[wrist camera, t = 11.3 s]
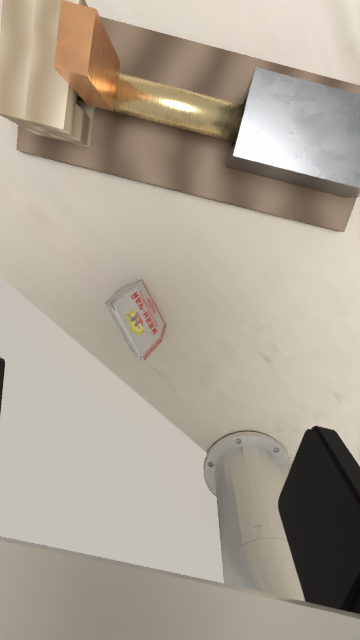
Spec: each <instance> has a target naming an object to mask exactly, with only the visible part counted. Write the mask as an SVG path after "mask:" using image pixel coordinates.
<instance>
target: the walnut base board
mask: <svg viewBox="0 0 360 640" xmlns="http://www.w3.org/2000/svg"><path fill="white" fill-rule="evenodd" d="M100 19H101V21H102V23H103V25H104V27H105V30H106V32H107V34H108V36H109V38H110V41H111V43H112V45H113V47H114V49H115V52H116V54H117V56H118V58H119V60H120V67H119V72H120V73H124V74H128V75H132V76H136V77H140V78H143V79H147V80H151V81H155V82H159V83H163V84H166V85H170V86H174V87H178V88H182V89H186V90H189V91H193V92H197V93H201V94H205V95H209V96H212V97H216V98H220V99H224V100H228V101H232V102H235V103H239V104H242V101H243V97H244V94H245V92H246V89H247V87H248V85H249V82H250V80H251V77H252V75H253V72H254V70H255V68H256V67H258V68H262V69H265V70H269V71H273V72H277V73H280V74H284V75H288V76H292V77H296V78H299V79H303V80H307V81H311V82H314V83H318V84H322V85H326V86H330V87H333V88H337V89H341V90H345V91H348V92H352V93H356V94H360V86H359V85H355V84H351V83H348V82H344V81H340V80H336V79H333V78H329V77H325V76H321V75H318V74H314V73H310V72H306V71H303V70H299V69H295V68H291V67H288V66H284V65H280V64H276V63H272V62H269V61H265V60H261V59H257V58H254V57H250V56H246V55H242V54H239V53H235V52H231V51H227V50H224V49H220V48H216V47H212V46H208V45H205V44H201V43H197V42H193V41H190V40H186V39H182V38H178V37H175V36H171V35H167V34H163V33H160V32H156V31H152V30H148V29H144V28H141V27H137V26H133V25H129V24H126V23H122V22H118V21H114V20H111V19H107V18H103V17H100ZM231 144H232V141H229V140H225V139H221V138H217V137H213V136H209V135H205V134H201V133H197V132H194V131H190V130H186V129H182V128H178V127H174V126H170V125H166V124H162V123H158V122H155V121H151V120H147V119H143V118H139V117H135V116H131V115H127V114H123V113H120V112H116V111H110V110H106V109H102V108H98V107H96V110H95V117H94V124H93V131H92V138H91V145H90V148H87V147H83V146H80V145H76V144H72V143H68V142H64V141H60V140H56V139H52V138H48V137H44V136H40V135H36V134H34V133H32V132H31V131H29V130H27V129H25V128H23V127H21V126H20V125H19V126H18V138H17V150H19V151H21V152H24V153H28V154H32V155H36V156H40V157H44V158H48V159H52V160H56V161H60V162H64V163H68V164H72V165H76V166H80V167H84V168H88V169H92V170H96V171H100V172H104V173H108V174H112V175H116V176H120V177H124V178H128V179H132V180H136V181H140V182H144V183H148V184H152V185H156V186H160V187H164V188H168V189H172V190H176V191H180V192H184V193H188V194H192V195H196V196H200V197H204V198H208V199H212V200H216V201H219V202H223V203H227V204H231V205H235V206H239V207H243V208H247V209H251V210H255V211H259V212H263V213H267V214H271V215H275V216H279V217H283V218H287V219H291V220H295V221H299V222H303V223H307V224H311V225H315V226H319V227H323V228H327V229H331V230H335V231H340V232H344V231H345V228H346V225H347V223H348V220H349V217H350V214H351V212H352V209H353V206H354V204H355V201H356V198H357V197H351V198H345V197H341V196H337V195H333V194H329V193H325V192H321V191H317V190H313V189H309V188H305V187H301V186H298V185H294V184H290V183H286V182H282V181H278V180H274V179H270V178H266V177H262V176H258V175H254V174H250V173H246V172H242V171H238V170H235V169H231V168H227V167H226V164H227V160H228V156H229V152H230V148H231Z"/></svg>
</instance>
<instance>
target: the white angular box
mask: <svg viewBox="0 0 360 640" xmlns="http://www.w3.org/2000/svg"><path fill="white" fill-rule="evenodd" d="M105 304H106V305H107V307H108V309H109V311H110V312H111V314H112V316H113V318H114V320H115V321H116V323H117V325H118V327H119V328H120V330H121V332H122V334H123V336H124V337H125V339H126V341H127V343H128V345H129V346H130V348H131V350H132V352H133V353H134V354H135V355H136V356H138V357H139V358H140V360H141V357H142V358H143V359H144V360H145V359H146V358H147V357H148V355H149V354H150V353H151V352H152V351H153V350H154V349H155V348H156V347H157V346H158V345H159V343H160V342H161V341H162V338H163V335H164V331H165V327H166V325H165V323H164V321H163V319H162V317H161V315H160V313H159V311H158V310H157V308H156V306H155V304H154V302H153V300H152V298H151V296H150V294H149V292H148V290H147V288H146V286H145V285H144V283H143V281H142V280H139V281H137V282H135V283H133V284H131V285H129V286H127V287H125V288H123V289H121V290H119V291H117V292H116V293H115V294H114V295H112V296H111V297H110V298H109V299H108V300H107V301H106V302H105ZM141 362H142V361H141Z"/></svg>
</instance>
